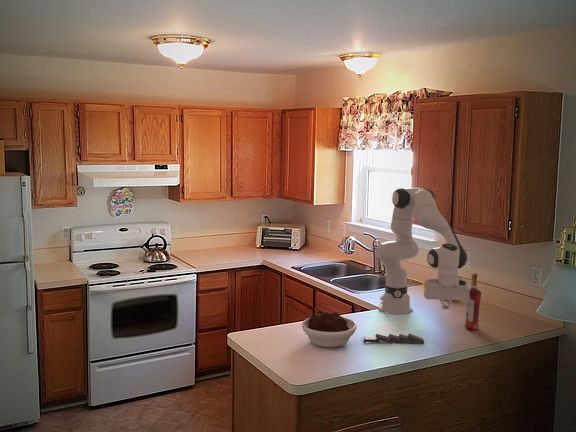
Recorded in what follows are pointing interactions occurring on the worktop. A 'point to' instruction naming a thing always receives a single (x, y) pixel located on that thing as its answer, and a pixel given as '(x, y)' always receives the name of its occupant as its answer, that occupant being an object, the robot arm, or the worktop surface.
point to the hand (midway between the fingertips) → (445, 308)
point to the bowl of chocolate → (328, 329)
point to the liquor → (473, 305)
